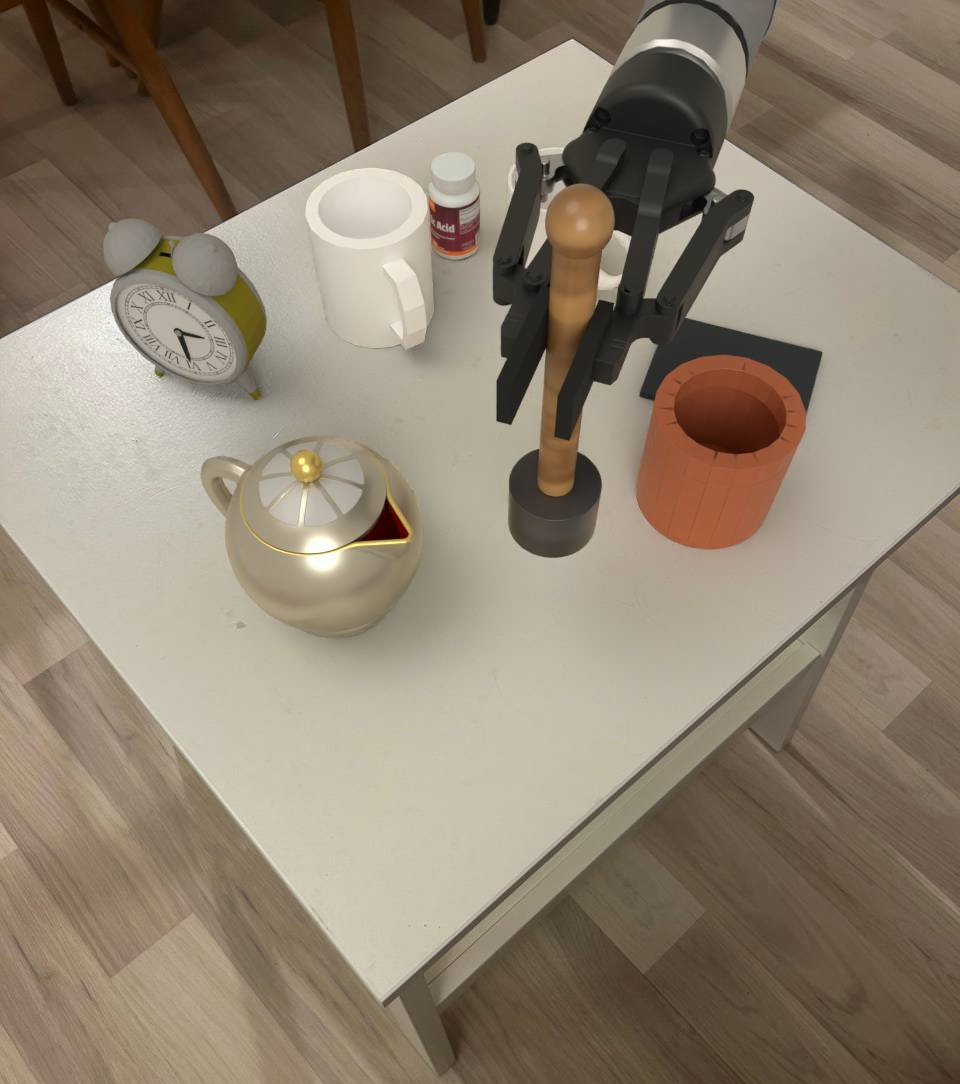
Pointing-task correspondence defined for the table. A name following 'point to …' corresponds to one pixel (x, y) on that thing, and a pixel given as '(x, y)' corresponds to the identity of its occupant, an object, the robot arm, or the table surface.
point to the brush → (557, 467)
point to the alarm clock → (184, 304)
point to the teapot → (319, 532)
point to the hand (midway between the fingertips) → (534, 410)
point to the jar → (718, 450)
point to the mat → (716, 340)
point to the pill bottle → (454, 206)
